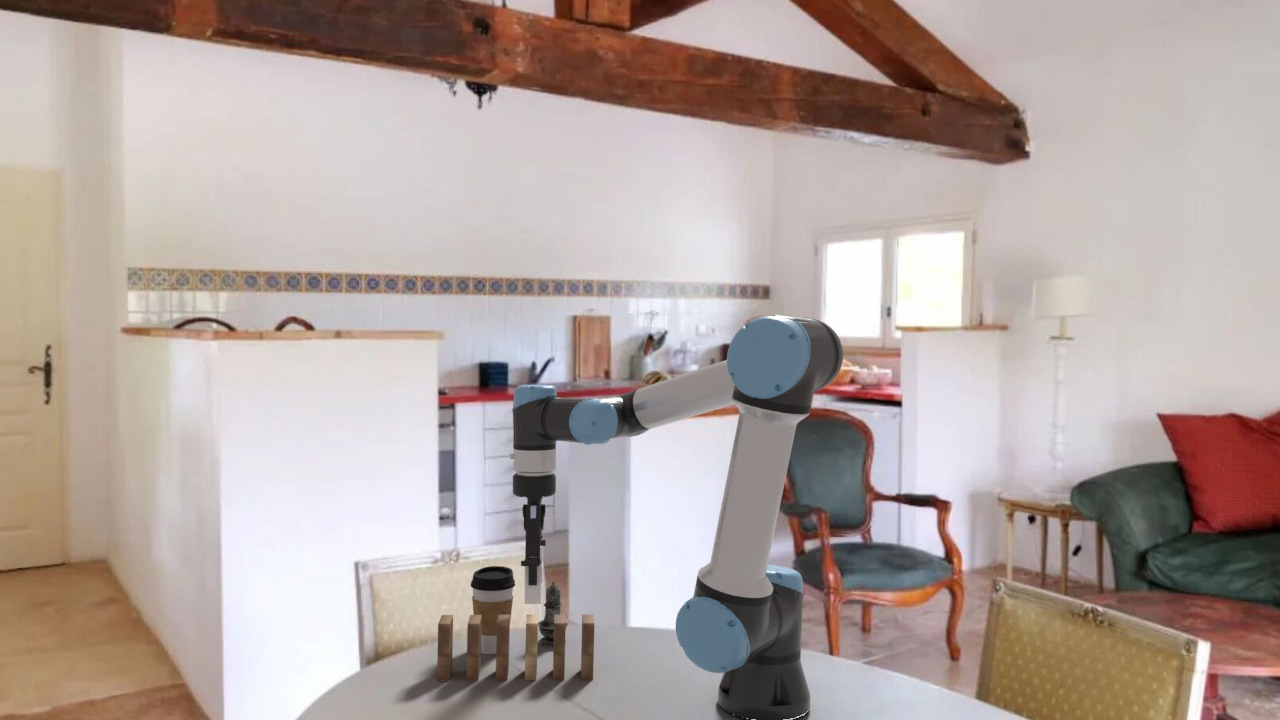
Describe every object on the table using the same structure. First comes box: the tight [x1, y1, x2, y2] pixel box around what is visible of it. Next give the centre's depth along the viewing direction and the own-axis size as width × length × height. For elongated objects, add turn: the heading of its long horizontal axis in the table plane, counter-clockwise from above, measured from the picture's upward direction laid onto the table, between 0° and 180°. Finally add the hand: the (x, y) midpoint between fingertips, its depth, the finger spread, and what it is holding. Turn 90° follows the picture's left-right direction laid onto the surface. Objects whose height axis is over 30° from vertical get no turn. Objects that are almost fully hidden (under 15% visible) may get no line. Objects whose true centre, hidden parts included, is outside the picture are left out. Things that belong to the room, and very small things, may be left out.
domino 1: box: [436, 614, 454, 682], centre depth 165 cm, size 2×5×10 cm, turn 5°
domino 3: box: [495, 615, 511, 681], centre depth 166 cm, size 2×5×10 cm, turn 5°
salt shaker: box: [538, 581, 569, 647], centre depth 184 cm, size 6×6×12 cm
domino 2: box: [466, 614, 482, 682], centre depth 165 cm, size 2×5×10 cm, turn 5°
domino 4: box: [552, 614, 567, 681], centre depth 167 cm, size 2×5×10 cm, turn 5°
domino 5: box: [580, 614, 595, 681], centre depth 167 cm, size 2×5×10 cm, turn 5°
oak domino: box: [524, 614, 539, 681], centre depth 166 cm, size 2×5×10 cm, turn 5°
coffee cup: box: [470, 565, 516, 655], centre depth 179 cm, size 8×8×15 cm
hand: (533, 592), depth 166 cm, fingers open, 13 cm apart
